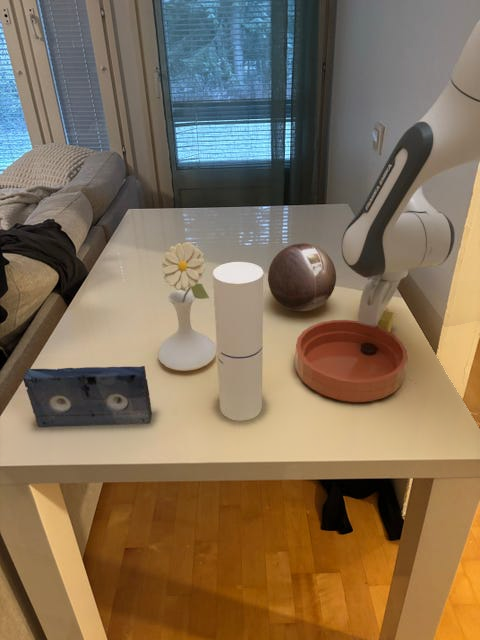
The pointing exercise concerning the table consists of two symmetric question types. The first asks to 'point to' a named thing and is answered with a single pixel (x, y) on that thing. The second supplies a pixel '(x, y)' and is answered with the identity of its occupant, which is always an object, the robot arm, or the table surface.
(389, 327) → the sponge
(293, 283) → the wooden sphere
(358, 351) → the bowl
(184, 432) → the table surface
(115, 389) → the vhs cassette tape
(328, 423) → the table surface
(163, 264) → the flower in vase
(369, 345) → the dark grey flat disc
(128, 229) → the table surface
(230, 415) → the cylindrical container
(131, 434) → the table surface
